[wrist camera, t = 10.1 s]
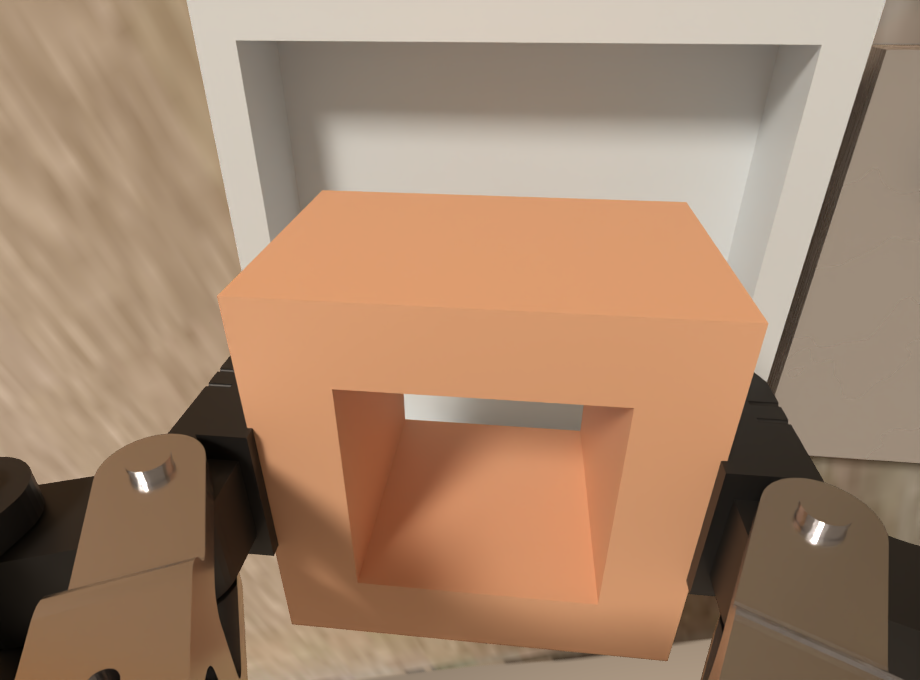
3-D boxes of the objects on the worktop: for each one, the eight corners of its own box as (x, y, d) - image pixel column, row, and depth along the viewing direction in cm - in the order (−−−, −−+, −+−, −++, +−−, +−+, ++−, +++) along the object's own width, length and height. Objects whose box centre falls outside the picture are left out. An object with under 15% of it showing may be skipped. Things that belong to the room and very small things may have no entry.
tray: (826, -12, 12) (888, -10, 10) (702, 452, 18) (725, 516, 16) (241, -12, 13) (184, -10, 11) (312, 425, 19) (284, 481, 17)
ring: (686, 201, 10) (768, 322, 6) (632, 479, 13) (666, 661, 9) (322, 189, 10) (216, 295, 7) (354, 458, 13) (292, 624, 10)
